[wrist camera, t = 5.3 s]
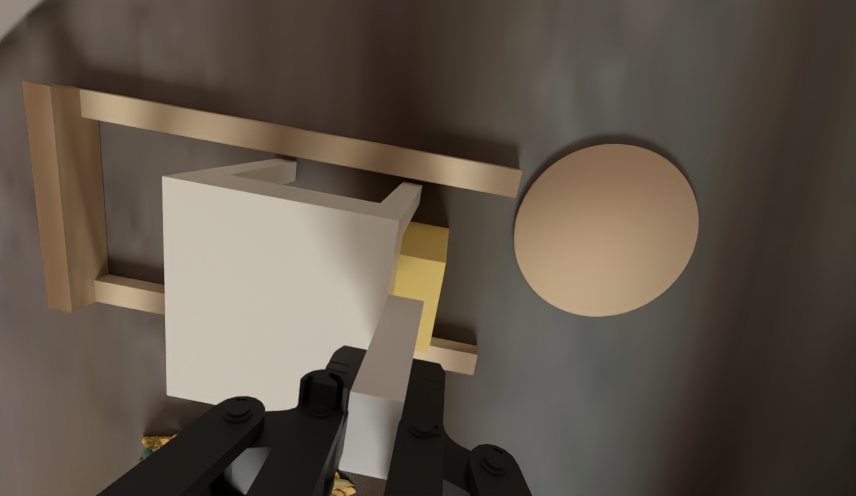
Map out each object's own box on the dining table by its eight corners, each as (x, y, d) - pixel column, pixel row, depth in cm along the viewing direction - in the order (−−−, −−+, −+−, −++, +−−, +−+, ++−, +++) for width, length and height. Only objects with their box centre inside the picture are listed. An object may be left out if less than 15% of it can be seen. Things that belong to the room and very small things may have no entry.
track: (519, 168, 24) (527, 174, 22) (472, 365, 28) (474, 391, 26) (72, 86, 25) (22, 80, 22) (89, 290, 29) (48, 308, 26)
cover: (422, 185, 25) (399, 220, 15) (398, 327, 28) (365, 434, 18) (277, 158, 25) (162, 176, 15) (268, 302, 28) (167, 395, 18)
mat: (723, 162, 23) (727, 162, 23) (659, 328, 27) (662, 330, 26) (537, 128, 24) (539, 128, 23) (496, 296, 27) (497, 299, 26)
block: (449, 228, 26) (445, 263, 19) (435, 298, 27) (428, 353, 21) (373, 214, 26) (343, 244, 19) (363, 284, 27) (333, 335, 21)
